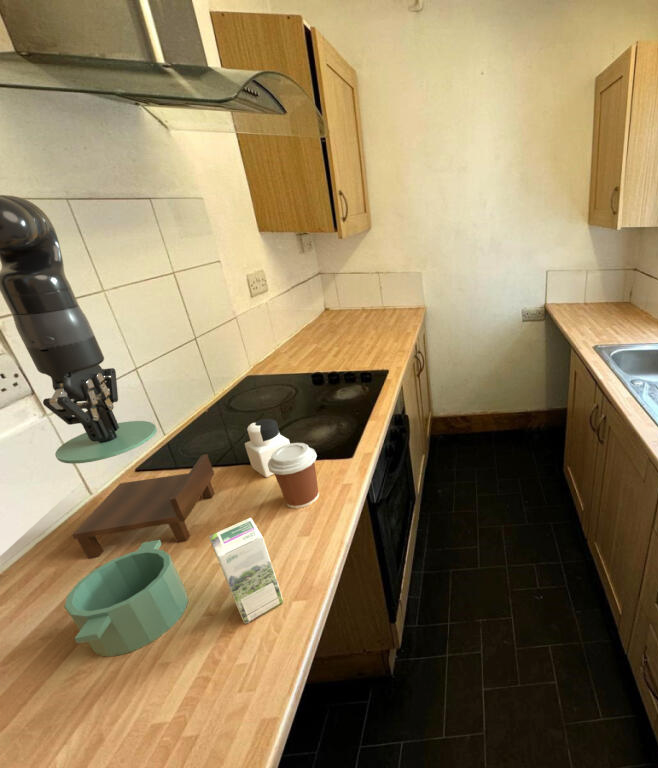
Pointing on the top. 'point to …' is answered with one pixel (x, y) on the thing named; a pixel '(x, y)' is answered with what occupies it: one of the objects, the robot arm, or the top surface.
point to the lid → (106, 441)
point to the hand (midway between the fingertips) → (105, 435)
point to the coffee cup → (295, 473)
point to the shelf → (147, 506)
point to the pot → (128, 601)
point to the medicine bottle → (263, 444)
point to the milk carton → (247, 569)
